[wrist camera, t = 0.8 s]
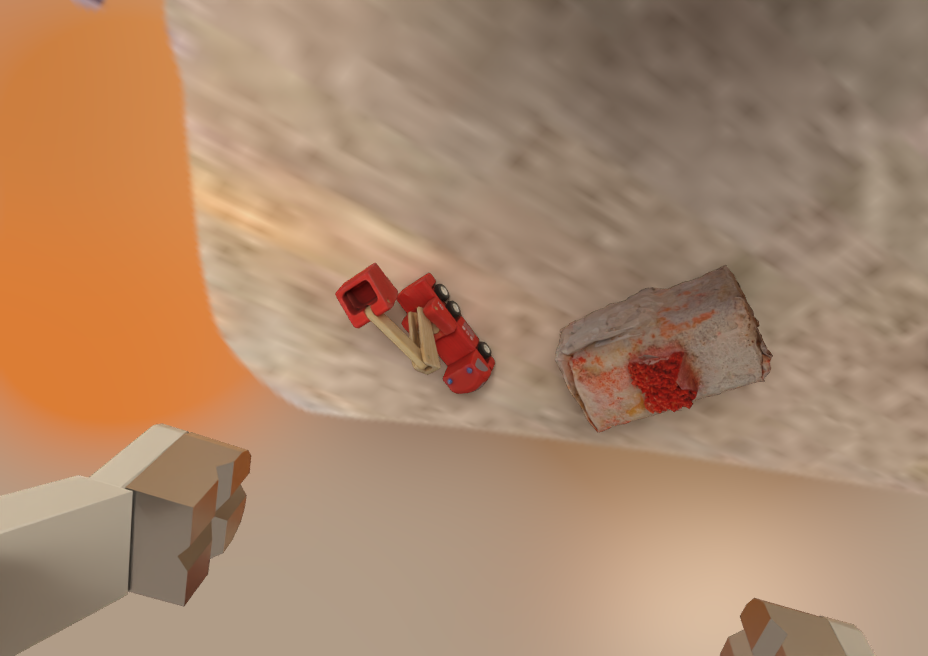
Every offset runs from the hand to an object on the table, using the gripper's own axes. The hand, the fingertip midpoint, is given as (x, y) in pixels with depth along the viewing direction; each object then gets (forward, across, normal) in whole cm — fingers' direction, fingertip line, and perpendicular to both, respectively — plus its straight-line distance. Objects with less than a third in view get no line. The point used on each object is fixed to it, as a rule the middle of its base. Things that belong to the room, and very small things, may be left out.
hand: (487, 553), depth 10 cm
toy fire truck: (+41, +5, +12) cm, 43 cm away
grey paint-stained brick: (+40, -12, +8) cm, 42 cm away
